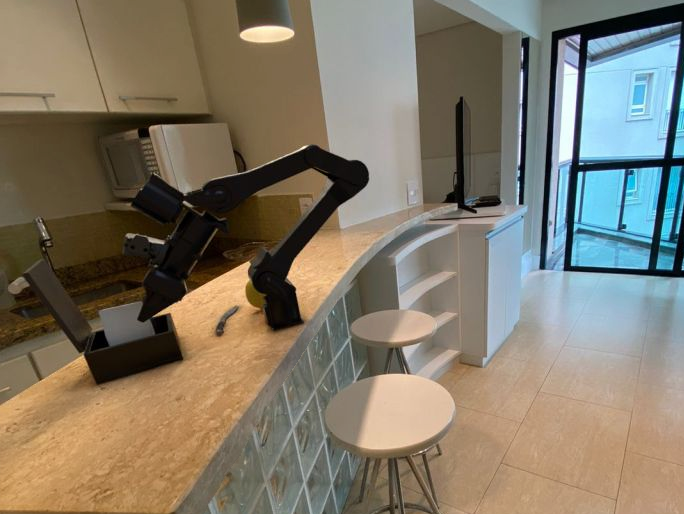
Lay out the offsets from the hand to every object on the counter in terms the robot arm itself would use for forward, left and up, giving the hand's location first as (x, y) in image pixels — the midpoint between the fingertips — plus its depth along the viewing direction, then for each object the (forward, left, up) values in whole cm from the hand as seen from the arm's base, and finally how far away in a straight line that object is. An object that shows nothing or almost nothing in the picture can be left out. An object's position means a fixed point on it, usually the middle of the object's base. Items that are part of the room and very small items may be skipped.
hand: (142, 313), depth 73 cm
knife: (-14, -9, -9) cm, 19 cm away
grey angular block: (+3, 0, -8) cm, 9 cm away
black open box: (+3, 0, -9) cm, 9 cm away
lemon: (-22, -10, -9) cm, 26 cm away
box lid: (+10, 0, +5) cm, 11 cm away
